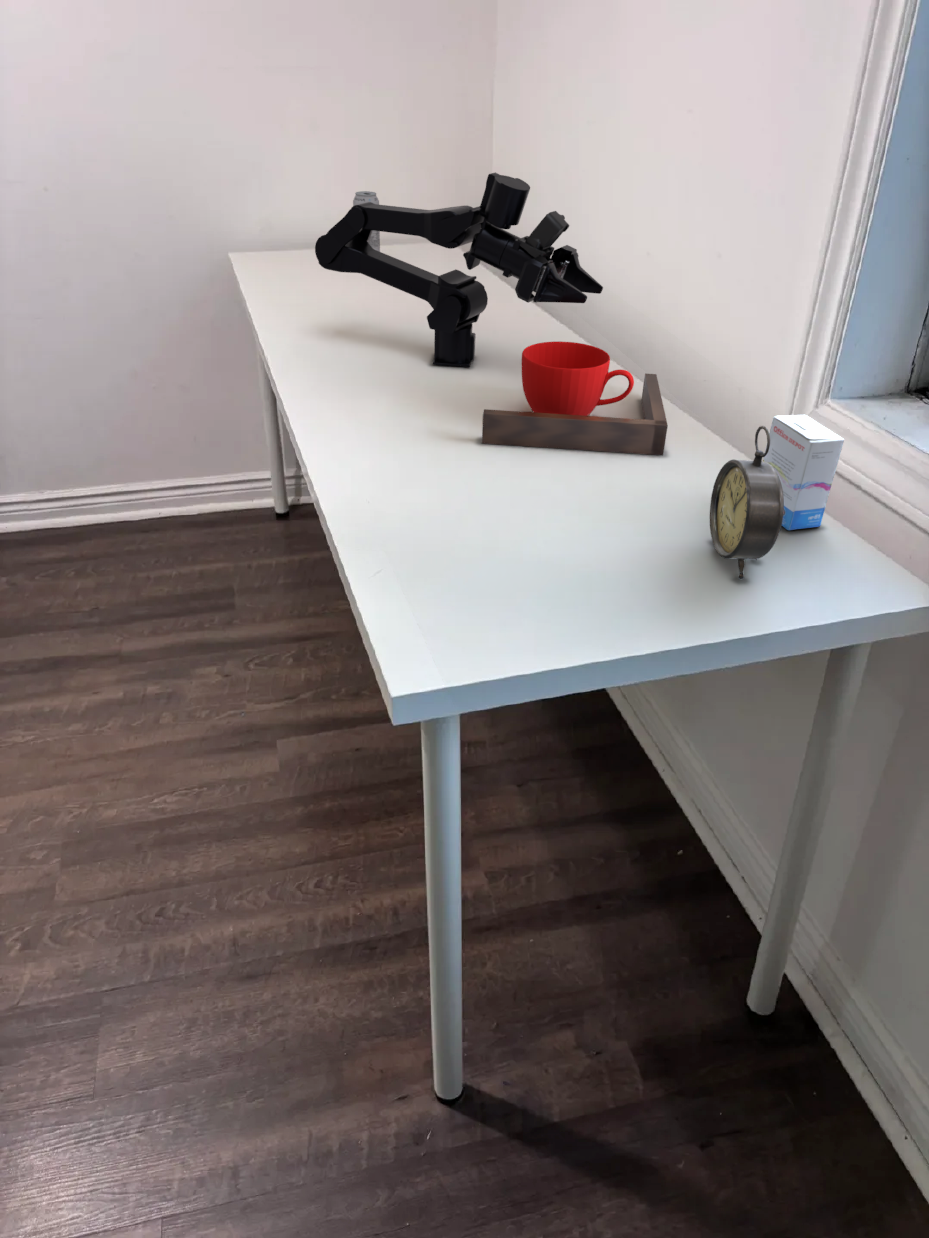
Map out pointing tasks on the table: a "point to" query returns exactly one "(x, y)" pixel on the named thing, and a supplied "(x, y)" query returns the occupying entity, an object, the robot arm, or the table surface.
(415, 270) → the robot arm
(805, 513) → the ink box
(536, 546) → the table surface
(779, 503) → the alarm clock
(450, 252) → the table surface
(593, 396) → the ceramic cup
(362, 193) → the energy drink can
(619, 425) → the corner guide
